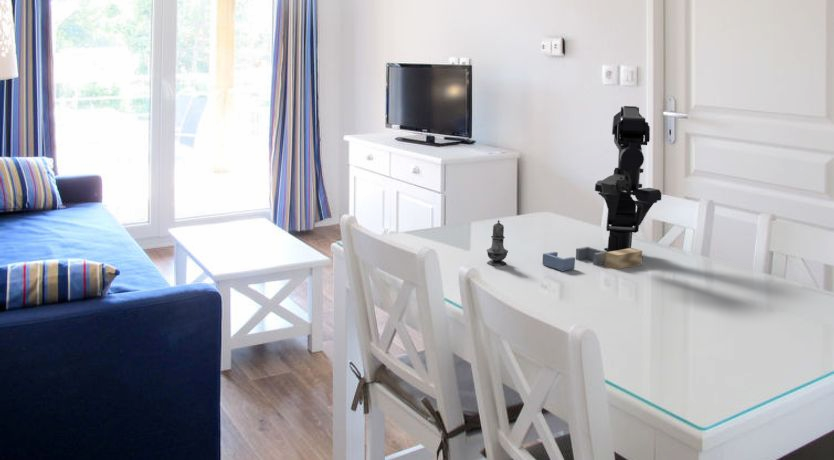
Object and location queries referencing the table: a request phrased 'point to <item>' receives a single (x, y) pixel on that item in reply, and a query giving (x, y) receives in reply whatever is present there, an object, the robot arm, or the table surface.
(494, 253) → the salt shaker
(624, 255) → the slat
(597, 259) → the grey u channel
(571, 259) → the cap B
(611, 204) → the robot arm
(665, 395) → the table surface
